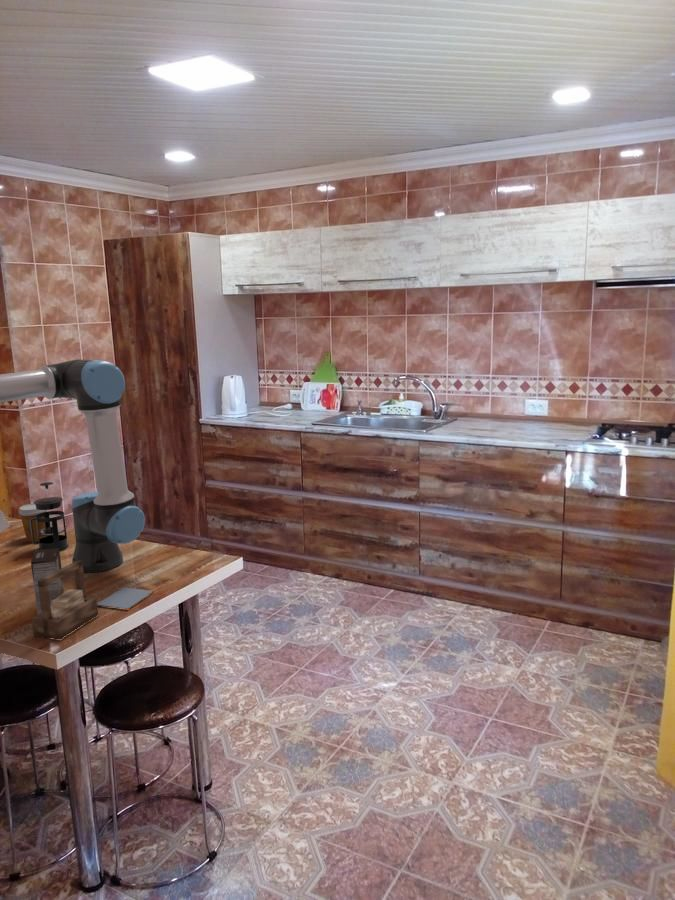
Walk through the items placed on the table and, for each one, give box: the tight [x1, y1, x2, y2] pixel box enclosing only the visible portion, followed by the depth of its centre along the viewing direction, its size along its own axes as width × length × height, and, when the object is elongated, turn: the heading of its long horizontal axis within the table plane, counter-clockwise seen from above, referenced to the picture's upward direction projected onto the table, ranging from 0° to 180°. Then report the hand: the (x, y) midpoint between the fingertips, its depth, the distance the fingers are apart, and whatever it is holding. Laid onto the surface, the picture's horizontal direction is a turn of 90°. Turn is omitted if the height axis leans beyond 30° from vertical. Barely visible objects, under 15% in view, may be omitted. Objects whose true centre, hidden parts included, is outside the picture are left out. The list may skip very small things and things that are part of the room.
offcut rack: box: [31, 560, 99, 639], centre depth 168 cm, size 14×8×15 cm, turn 161°
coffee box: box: [30, 548, 65, 615], centre depth 177 cm, size 9×6×16 cm
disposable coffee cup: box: [18, 502, 48, 543], centre depth 237 cm, size 10×10×12 cm
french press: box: [30, 481, 69, 552], centre depth 226 cm, size 12×9×23 cm
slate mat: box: [97, 586, 153, 609], centre depth 185 cm, size 12×10×1 cm
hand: (3, 523), depth 168 cm, fingers open, 13 cm apart
